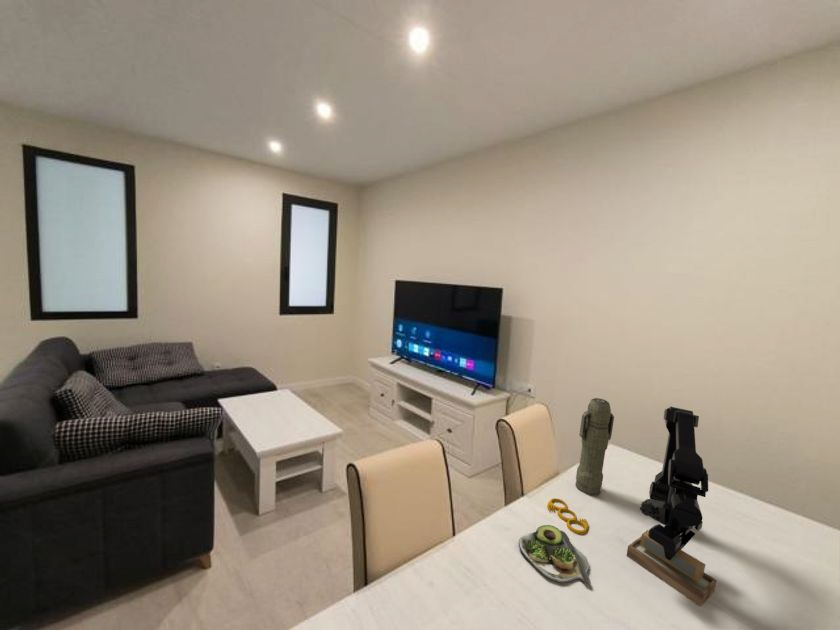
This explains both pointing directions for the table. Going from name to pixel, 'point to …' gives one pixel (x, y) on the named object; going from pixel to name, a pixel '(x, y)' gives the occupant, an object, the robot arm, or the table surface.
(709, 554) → the table surface
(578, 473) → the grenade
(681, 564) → the tan rectangular block
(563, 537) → the salad plate
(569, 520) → the gold linked rings
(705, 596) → the brown picture frame
